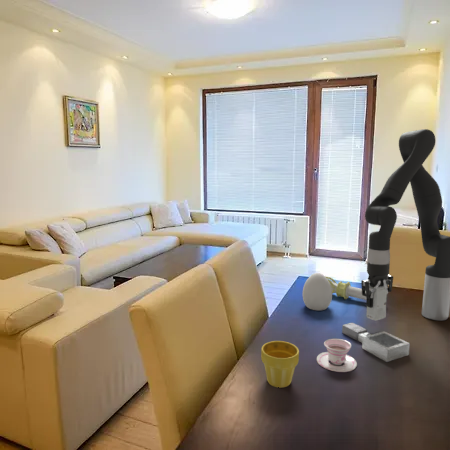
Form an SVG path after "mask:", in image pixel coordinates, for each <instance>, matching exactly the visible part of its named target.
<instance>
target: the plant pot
mask: <svg viewBox="0 0 450 450" xmlns="http://www.w3.org/2000/svg"><path fill="white" fill-rule="evenodd" d="M260 355H261V356H260V359H261V361H262V364H264V365H263V366H264V369H265V370H264V371H265V375H266V380H267V383H268V384H269V385H270V386H272V387H274V388H278V387H279V388H280V389H281V388H287V387H289V386H290V385H291V383H292V381H293V377H294V373H295V370H296V369H295V368H296V367H297V366H298V364H299V361H300V350H299V347H298V346H296V344H293V343H291V342H288V341H286V340H285V341H283V340H272V341H268V342H266V343H264V344H263V345H262V346H261V352H260Z"/></svg>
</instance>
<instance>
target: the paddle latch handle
mask: <svg viewBox="0 0 450 450" xmlns="http://www.w3.org/2000/svg"><path fill="white" fill-rule="evenodd" d="M341 328H342V329H341V331H342V334H343V335H345V336H347V337H349V338H351V339H353V340H355V341H357V342H360V343H361V344H362V345H361V348H362V350H365V351H366V352H368V353H370V354H371V355H373V356H375V357H377V358H379V359H380V360H382V361H384V362H386V363H388V362H392V361H395V360H397V359H401V358H403V357H407V356H409V354H410V345H411V344H410V342H407V340H406V341H405V340H404V339H401V338H400V337H397V336H395V335H394V334H391V333H390V332H389V333H388V332H387V331H385V330H383V331H380V332H376V333H373V334H372V333H371V332H368V329H366V328H364V327H362V326H361V325H359V324H356V323H355V322H349V323H345V324H342V327H341Z"/></svg>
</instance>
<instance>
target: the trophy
mask: <svg viewBox="0 0 450 450" xmlns="http://www.w3.org/2000/svg"><path fill="white" fill-rule="evenodd" d="M324 276H325V277H326V278H327V280H328V281H329V283H330V285H331V289H332V295H333V294H335V295H336V297H337V298H339V297H342V298H343V299H344V300H348V298H349V297H350V298H355V299H360V300H363V301H366V299H367V297H366V296H363V295H362V287H361V288H359V287H355V286H351V283H350V281H347V282H342V281H339V282H337V281H336V280H335V279H333V278H332V277H329V276H326V275H324ZM365 293H366V291H365Z"/></svg>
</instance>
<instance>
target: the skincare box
mask: <svg viewBox="0 0 450 450" xmlns="http://www.w3.org/2000/svg"><path fill="white" fill-rule="evenodd" d="M369 288H370V289H374V288H373V287H371V286H369ZM370 294H371V291H370ZM386 297H387V298H388V294H387V289H386V290H385V287H384V286H381V287H378V288H376V292H375V293H374V296H373V307H372V308H370V307H367V306H366V318H367V319H369V320H372V321H374V322H375V321H379V320H383V319H385V318H386V317H387V301H386Z"/></svg>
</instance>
